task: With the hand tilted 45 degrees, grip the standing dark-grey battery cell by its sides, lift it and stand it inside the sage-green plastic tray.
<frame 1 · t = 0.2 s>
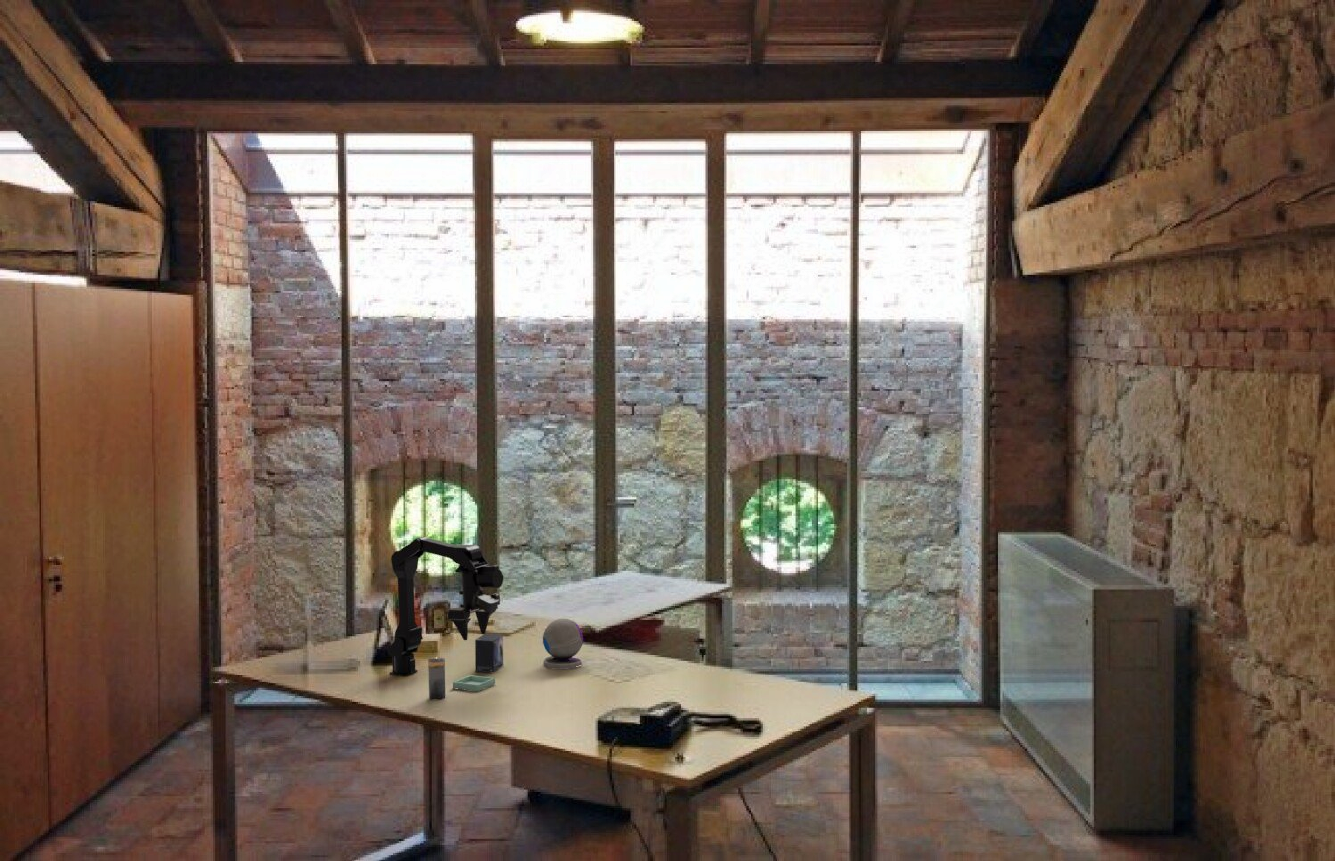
hand: (474, 637, 444), 14 cm above the table, tool pointing down, fingers open, 9 cm apart
small box: (489, 669, 464), on the table
cell: (437, 697, 429), on the table
tray: (474, 686, 441), on the table
webcam: (563, 665, 468), on the table
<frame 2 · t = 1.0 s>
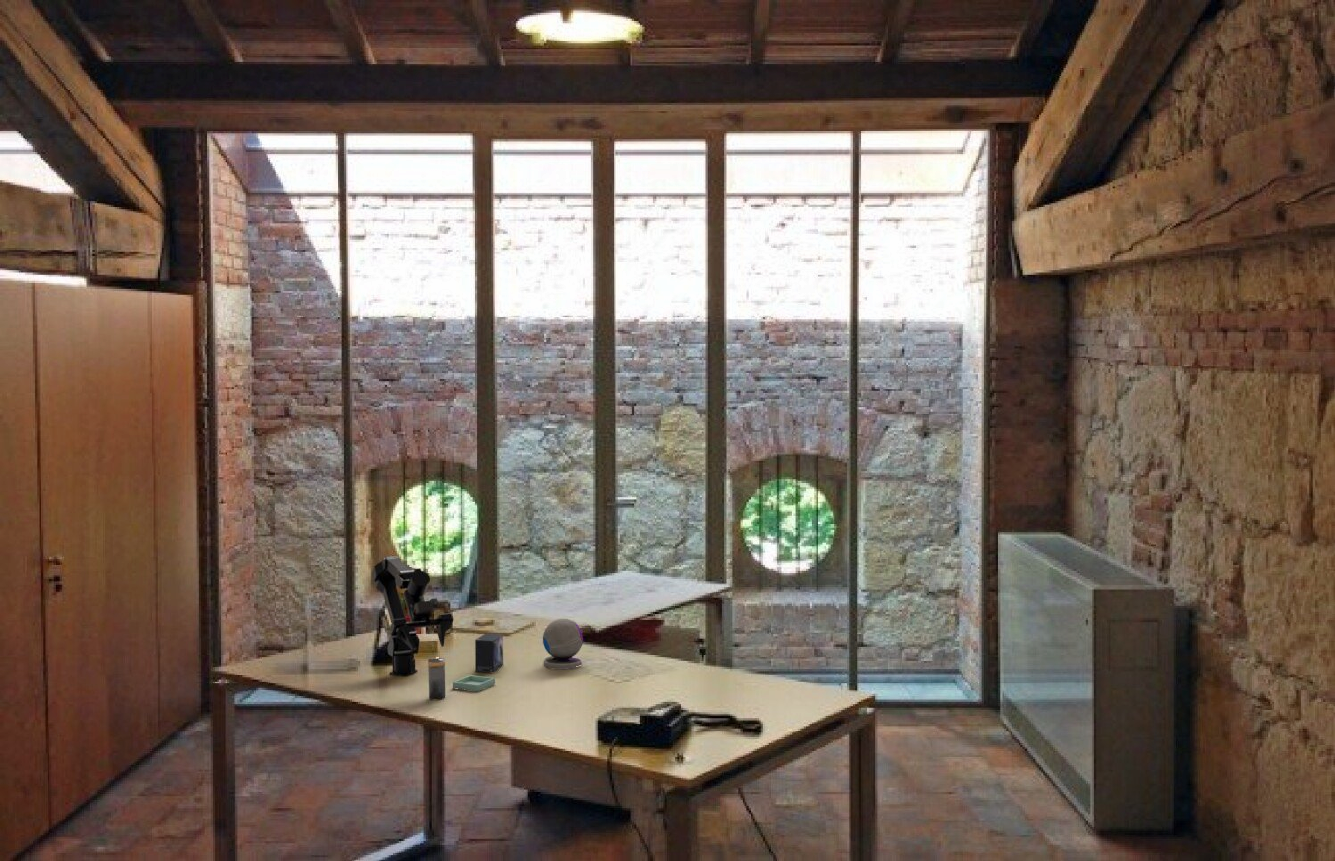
hand: (428, 647, 435), 13 cm above the table, tool tilted 45°, fingers open, 9 cm apart
nothing on the table moved.
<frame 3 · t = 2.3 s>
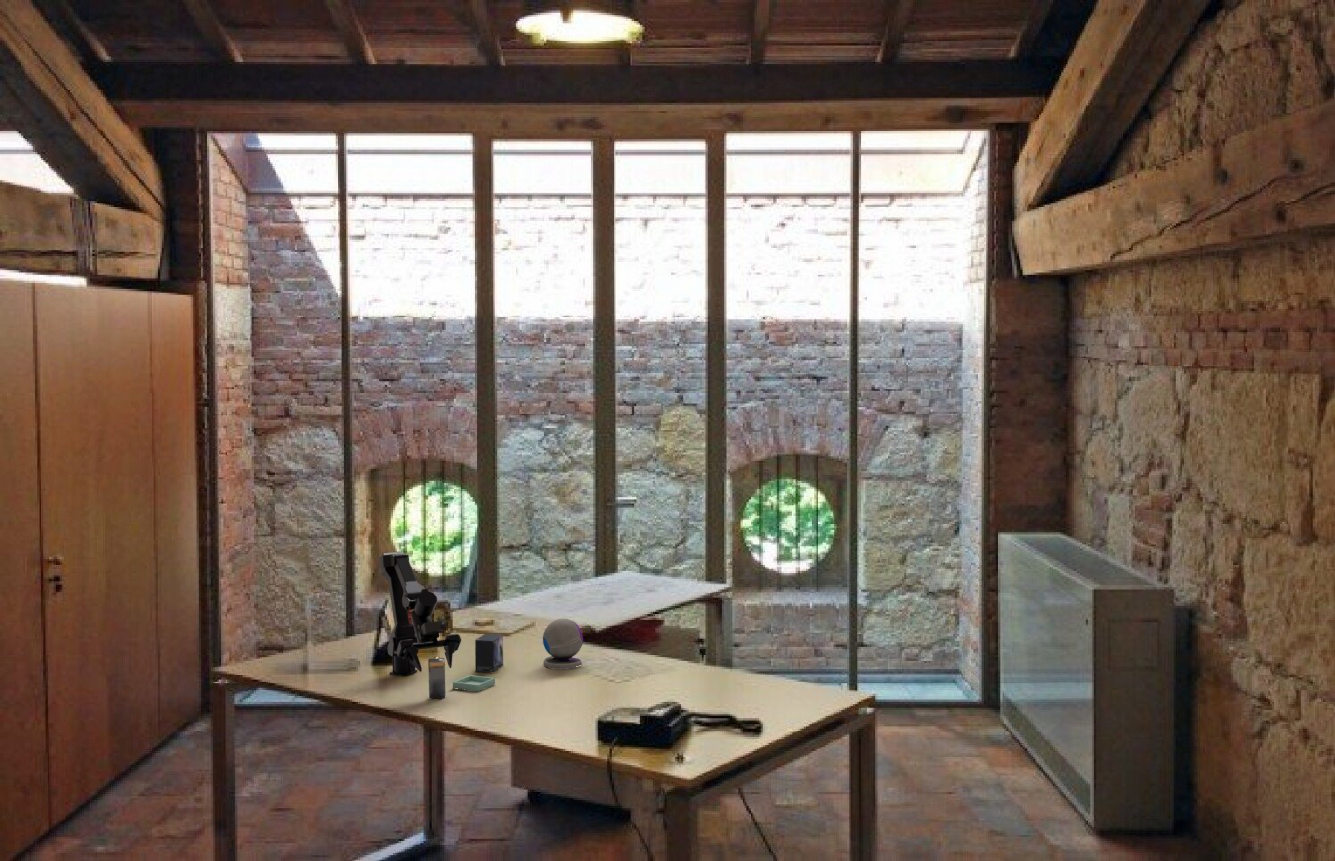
hand: (435, 669, 429), 8 cm above the table, tool tilted 45°, fingers open, 9 cm apart
nothing on the table moved.
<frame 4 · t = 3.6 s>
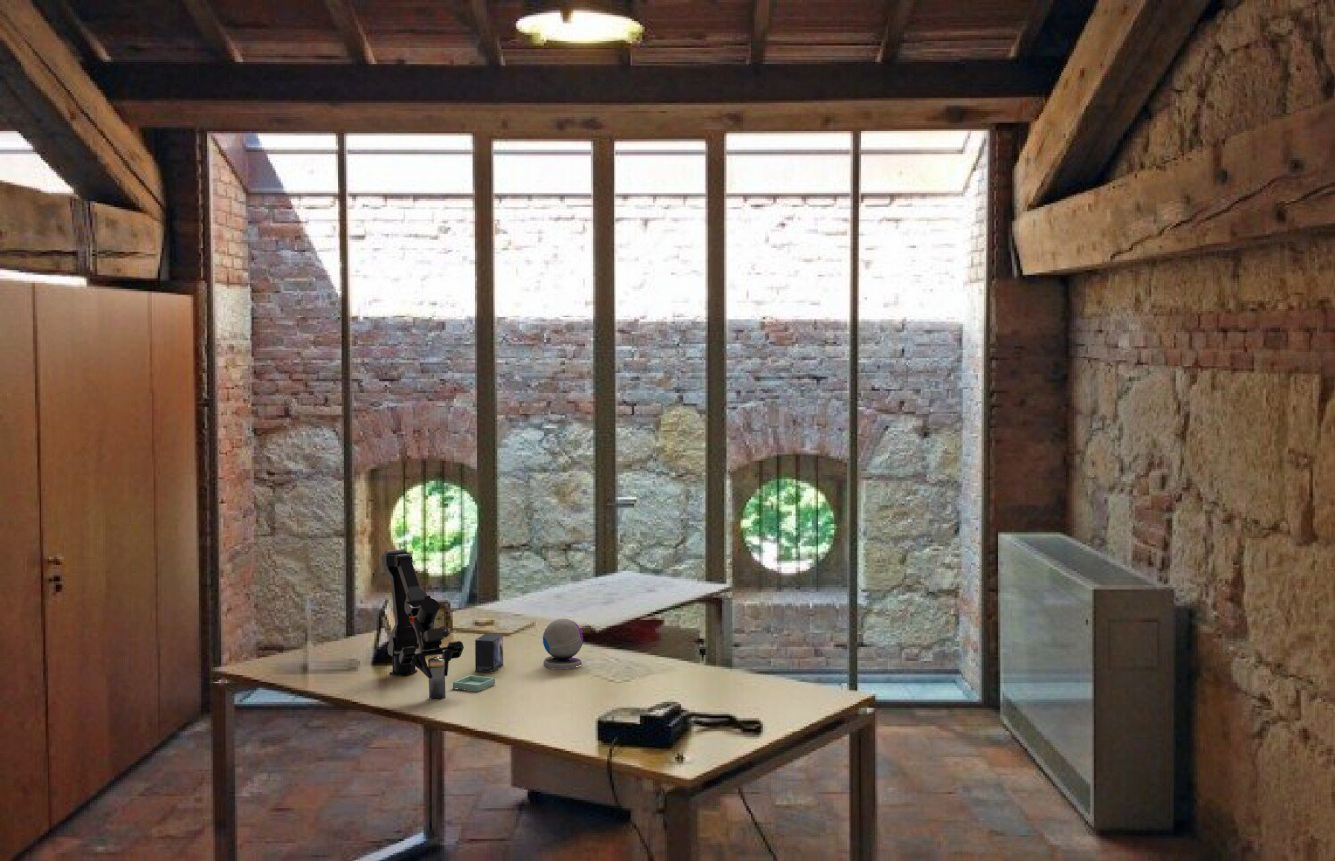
hand: (438, 676, 427), 7 cm above the table, tool tilted 45°, fingers closed on cell, 5 cm apart
cell: (437, 697, 429), on the table, touching gripper
everything else where it was.
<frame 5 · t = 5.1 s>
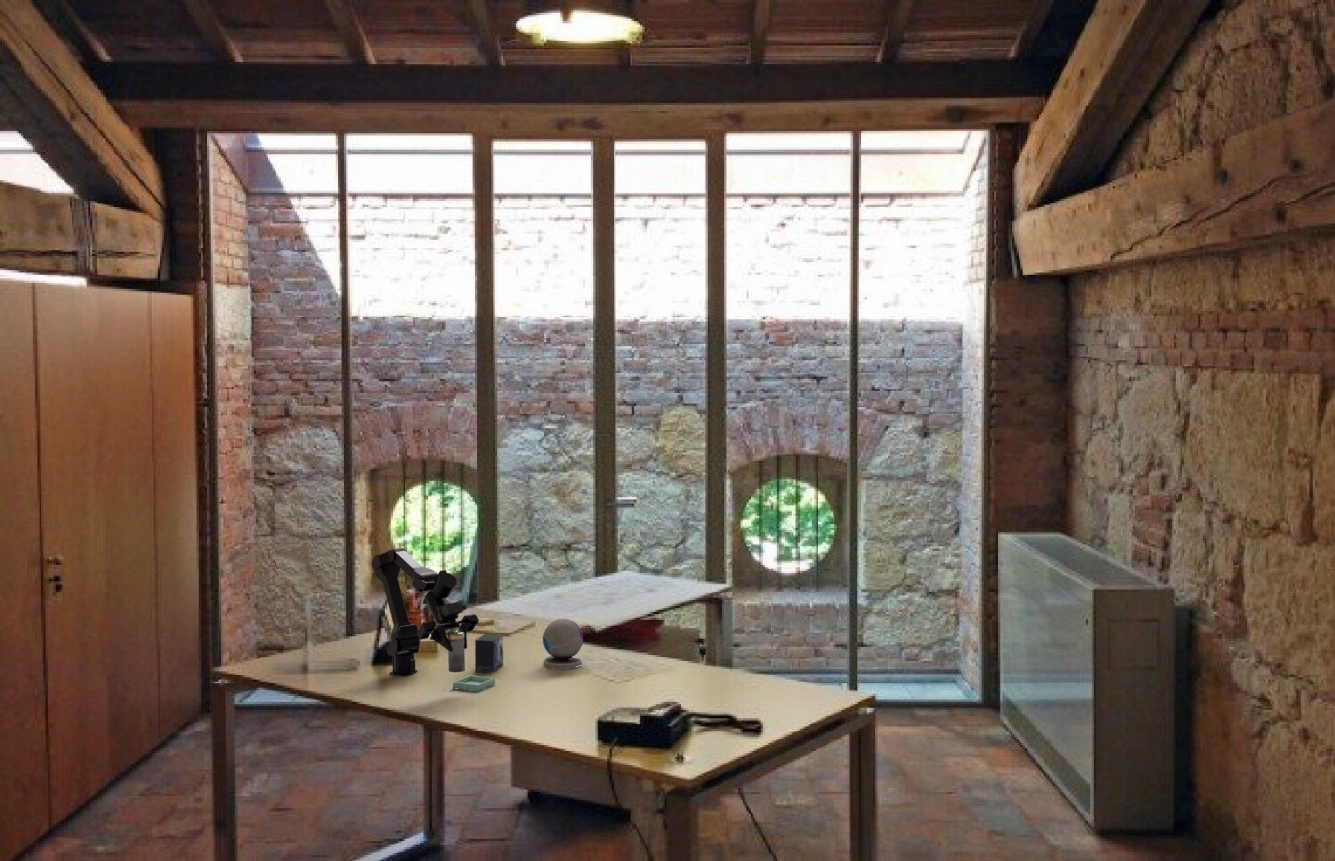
hand: (458, 649, 432), 13 cm above the table, tool tilted 45°, fingers closed on cell, 5 cm apart
cell: (456, 670, 434), point 7 cm above the table, touching gripper
everything else where it was.
when the fingers open (8 cm above the table, at t = 6.9 s): cell drops 1 cm, resting on tray.
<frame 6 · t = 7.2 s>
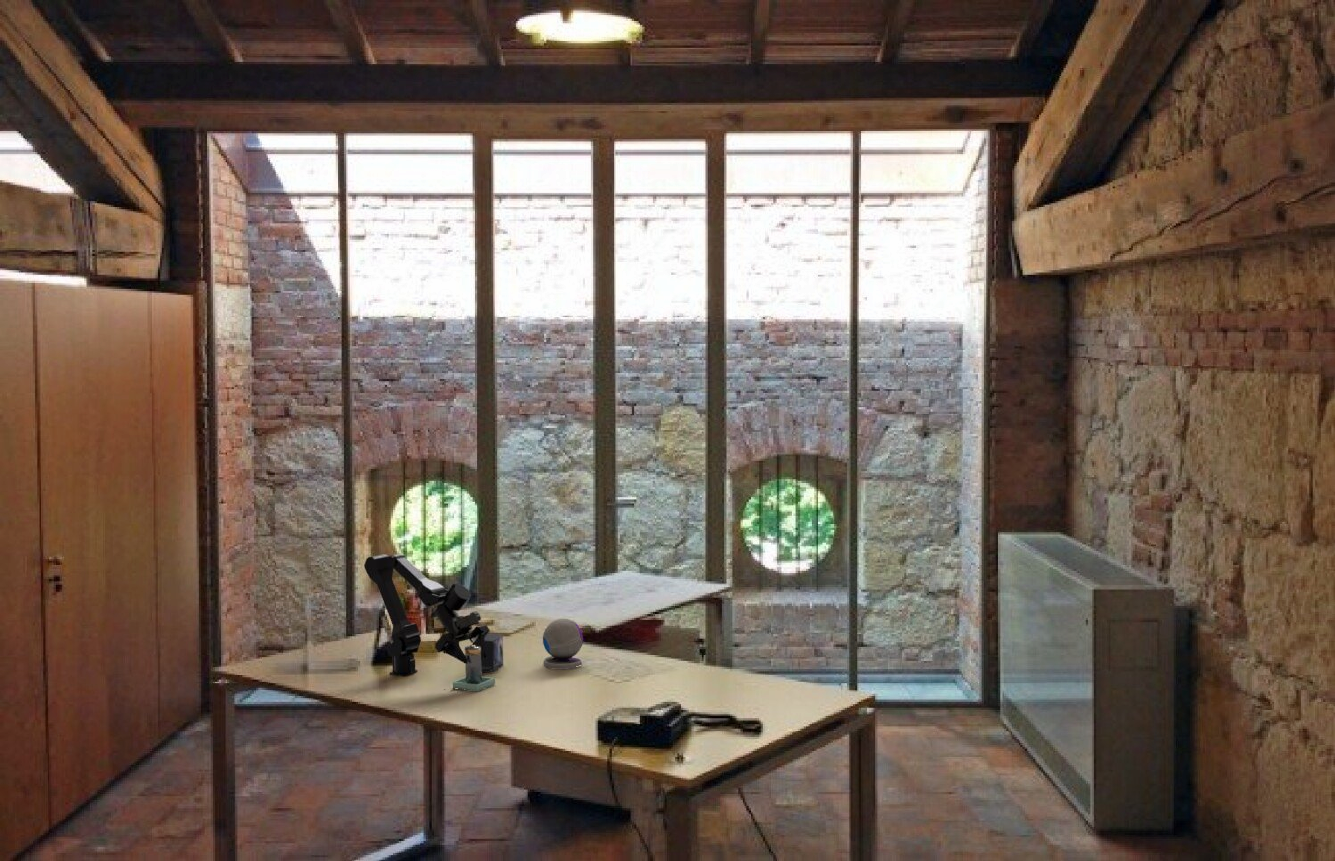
hand: (476, 660, 440), 8 cm above the table, tool tilted 45°, fingers open, 8 cm apart
cell: (474, 684, 441), point 1 cm above the table, touching tray
everything else where it was.
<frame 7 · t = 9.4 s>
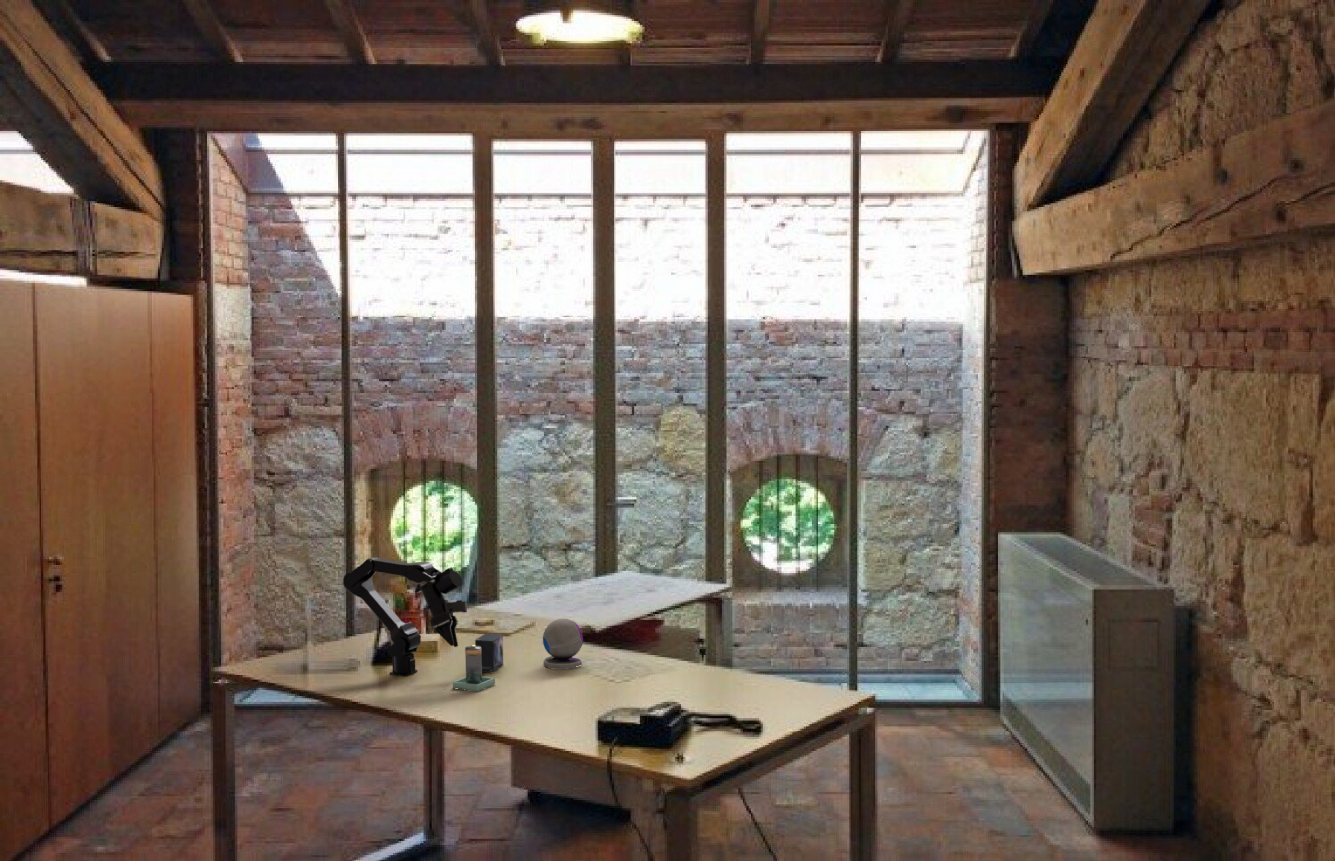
hand: (454, 646, 450), 11 cm above the table, tool tilted 30°, fingers open, 9 cm apart
nothing on the table moved.
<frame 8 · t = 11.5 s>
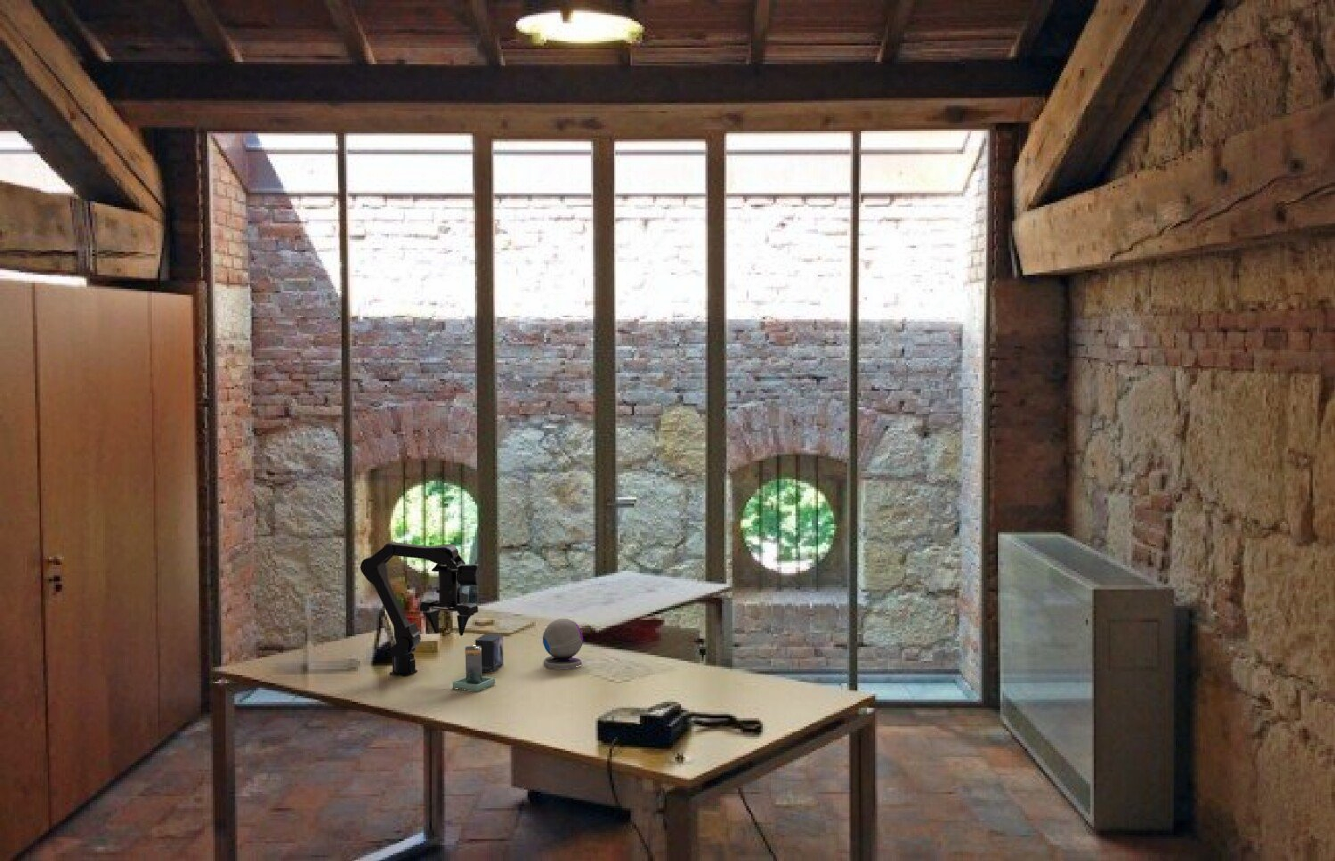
hand: (449, 634, 455), 13 cm above the table, tool pointing down, fingers open, 9 cm apart
nothing on the table moved.
at the end: cell inside the target area on the tray (0.0 cm from its centre), point 0.6 cm above the tray's base; cell tilted 1°; the gripper is holding nothing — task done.
